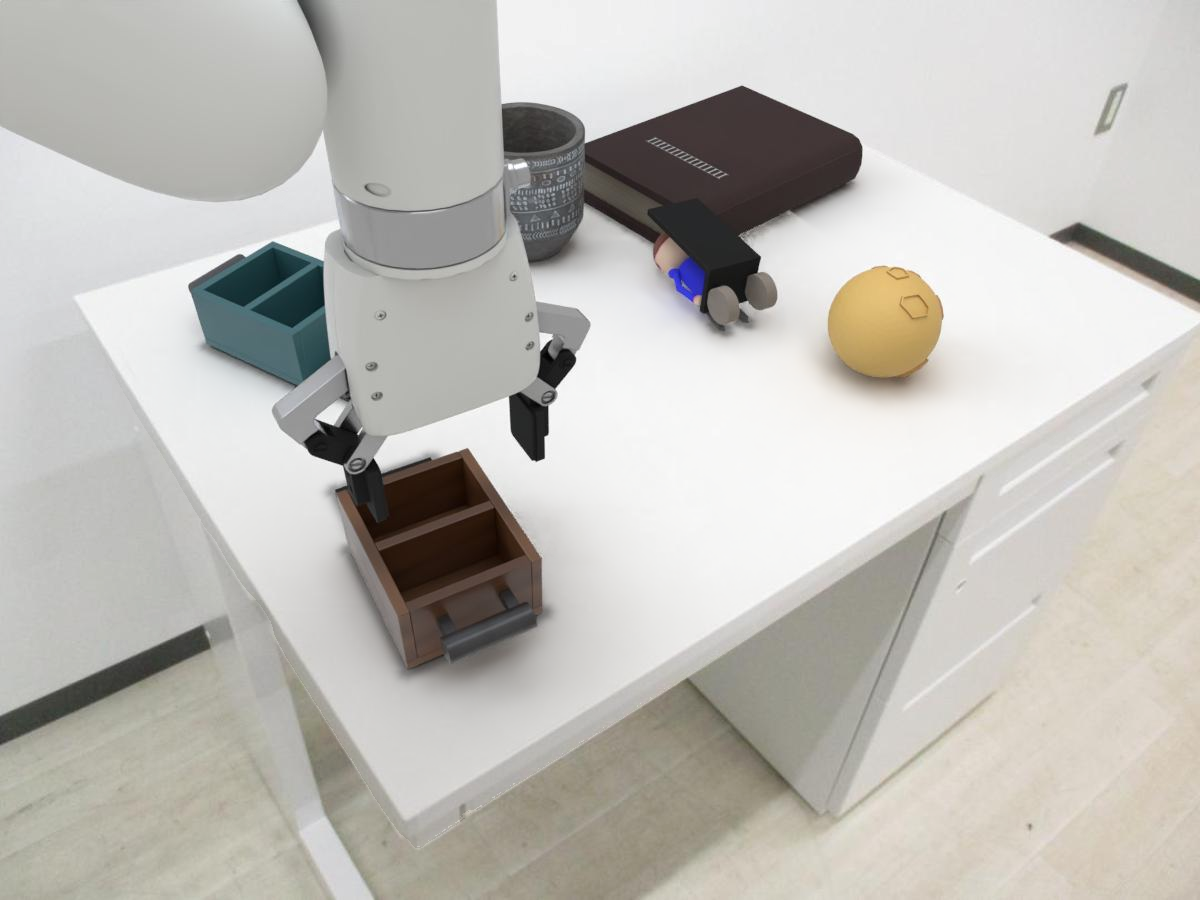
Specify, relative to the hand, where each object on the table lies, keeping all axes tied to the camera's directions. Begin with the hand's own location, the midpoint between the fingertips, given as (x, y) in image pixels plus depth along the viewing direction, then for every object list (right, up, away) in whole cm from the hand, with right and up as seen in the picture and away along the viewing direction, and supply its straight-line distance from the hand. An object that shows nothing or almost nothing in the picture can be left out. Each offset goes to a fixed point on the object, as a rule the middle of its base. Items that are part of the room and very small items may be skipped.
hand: (453, 474), depth 55 cm
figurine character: (+19, +17, +41) cm, 48 cm away
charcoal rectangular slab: (-7, -2, +19) cm, 21 cm away
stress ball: (+34, +9, +34) cm, 49 cm away
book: (+22, +32, +57) cm, 69 cm away
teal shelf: (-21, +12, +34) cm, 42 cm away
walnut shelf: (-2, -9, +12) cm, 15 cm away
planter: (+1, +24, +48) cm, 53 cm away
